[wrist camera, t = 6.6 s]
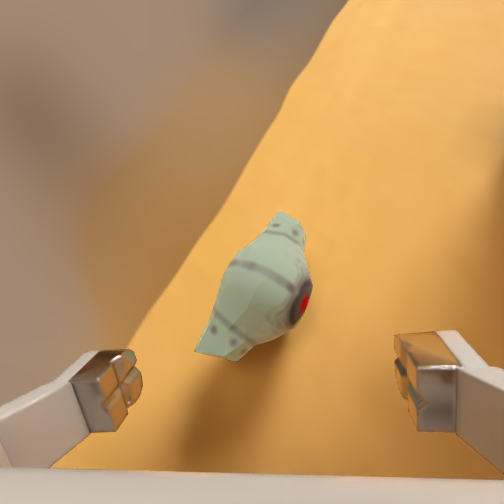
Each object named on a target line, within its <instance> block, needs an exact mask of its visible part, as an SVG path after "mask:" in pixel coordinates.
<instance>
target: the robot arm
mask: <svg viewBox="0 0 504 504" xmlns="http://www.w3.org/2000/svg"><path fill="white" fill-rule="evenodd" d="M394 349H395V351H396V353H397V355H398V358H397V359H396V360H395V374H396V379H397V384H398V387H399V390H400V392H401V395H402V397H403V398H404V399H406V400H407V401H408V411H409V413H410V416H411V418H412V420H413V422H414V425H415V427H416V429H417V431H418V432H447V433H456V435H457V436H458V437H460V438H461V439H462V440H463V441H465V442H466V443H467V444H468V445H469V446H471V447H472V448H473V449H474V450H475V451H477V452H478V453H479V454H480V455H482V456H483V457H484V458H485V459H486V460H488V461H489V462H490V463H491V464H492V465H494V466H495V467H496V468H497V469H499V470H500V471H501V472H502V473H503V474H504V370H503V369H501V368H499V367H490V366H489V365H488V364H487V363H486V362H485V361H484V360H483V359H482V358H481V357H480V356H479V355H478V353H477V352H476V351H475V350H474V349H473V348H472V347H471V346H470V345H469V344H468V343H467V342H466V341H465V340H464V339H463V337H462V336H461V335H460V334H459V333H458V332H457V331H455V330H444V331H433V332H422V333H410V334H398V335H394ZM136 361H137V359H136V356H135V353H134V351H132V350H130V349H120V350H96V351H88V352H85V353H84V354H83V355H82V356H81V357H80V358H79V359H78V360H76V361H75V362H74V363H73V364H72V365H71V366H70V367H68V368H67V369H66V370H65V371H64V372H63V373H62V374H61V375H60V376H58V377H57V378H56V379H55V380H54V381H53V382H52V383H46V384H44V385H42V386H40V387H38V388H36V389H34V390H32V391H30V392H28V393H26V394H24V395H22V396H20V397H18V398H16V399H14V400H12V401H10V402H8V403H6V404H4V405H2V406H0V504H504V480H491V479H452V478H412V477H373V476H333V475H294V474H256V473H219V472H182V471H145V470H102V469H60V468H50V467H51V466H52V465H53V464H54V463H56V462H57V461H58V460H59V459H61V458H62V457H63V456H64V455H65V454H67V453H68V452H69V451H70V450H72V449H73V448H74V447H75V446H77V445H78V444H79V443H80V442H81V441H83V440H84V439H85V438H86V437H88V436H89V435H90V433H97V432H116V431H117V430H118V428H119V427H120V425H121V424H122V422H123V421H124V419H125V418H126V416H127V415H128V408H129V407H130V406H131V405H133V404H134V403H136V401H137V400H138V398H139V397H140V394H141V391H142V387H143V381H142V375H141V372H140V371H139V370H138V369H137V368H136V367H135V364H136Z"/></svg>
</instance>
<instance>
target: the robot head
mask: <svg viewBox="0 0 504 504" xmlns="http://www.w3.org/2000/svg"><path fill="white" fill-rule="evenodd" d="M305 240H306V234H305V232H304V230H303V228H302V225H301V223H300V222H299V221H297V220H295V219H294V218H292V217H290V216H288V215H287V214H285V213H283V212H282V211H280V210H279V211H278V213H277V214H276V215H275V217H274V218H273V219H272V221H271V222H270V223H269V225H268V226H267V227H266V229H265V230H264V231H263V232H262V233H261V234H260V235H259V236H258V237H257V238H256V239H254V240H253V241H252V242H251V243H250V244H249V245H247V246H246V247H244V248H243V249H242V250H240V251H239V252H238V253H237V255H236V256H235V257H234V259H233V260H232V262H231V263H230V264H229V266H228V268H227V270H226V272H225V274H224V276H223V278H222V280H221V284H220V288H219V291H218V295H217V299H216V302H215V305H214V308H213V311H212V314H211V317H210V320H209V322H208V324H207V326H206V328H205V330H204V332H203V334H202V336H201V339H200V341H199V343H198V345H197V347H196V349H195V351H194V352H198V353H202V354H206V355H210V356H214V357H218V358H222V359H226V360H230V361H234V362H237V361H238V360H240V359H241V358H242V357H243V356H244V355H245V354H246V353H247V352H248V351H249V350H251V349H252V348H253V347H254V346H255V345H259V344H262V343H265V342H269V341H272V340H274V339H276V338H278V337H279V336H281V335H283V334H285V333H287V332H289V331H290V330H292V329H294V328H295V327H296V326H297V324H298V322H299V321H300V319H301V317H302V316H303V314H304V312H305V310H306V307H307V305H308V302H309V299H310V295H311V291H312V287H313V285H312V281H311V277H310V273H309V269H308V265H307V261H306V259H305V256H304V249H305Z"/></svg>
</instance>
